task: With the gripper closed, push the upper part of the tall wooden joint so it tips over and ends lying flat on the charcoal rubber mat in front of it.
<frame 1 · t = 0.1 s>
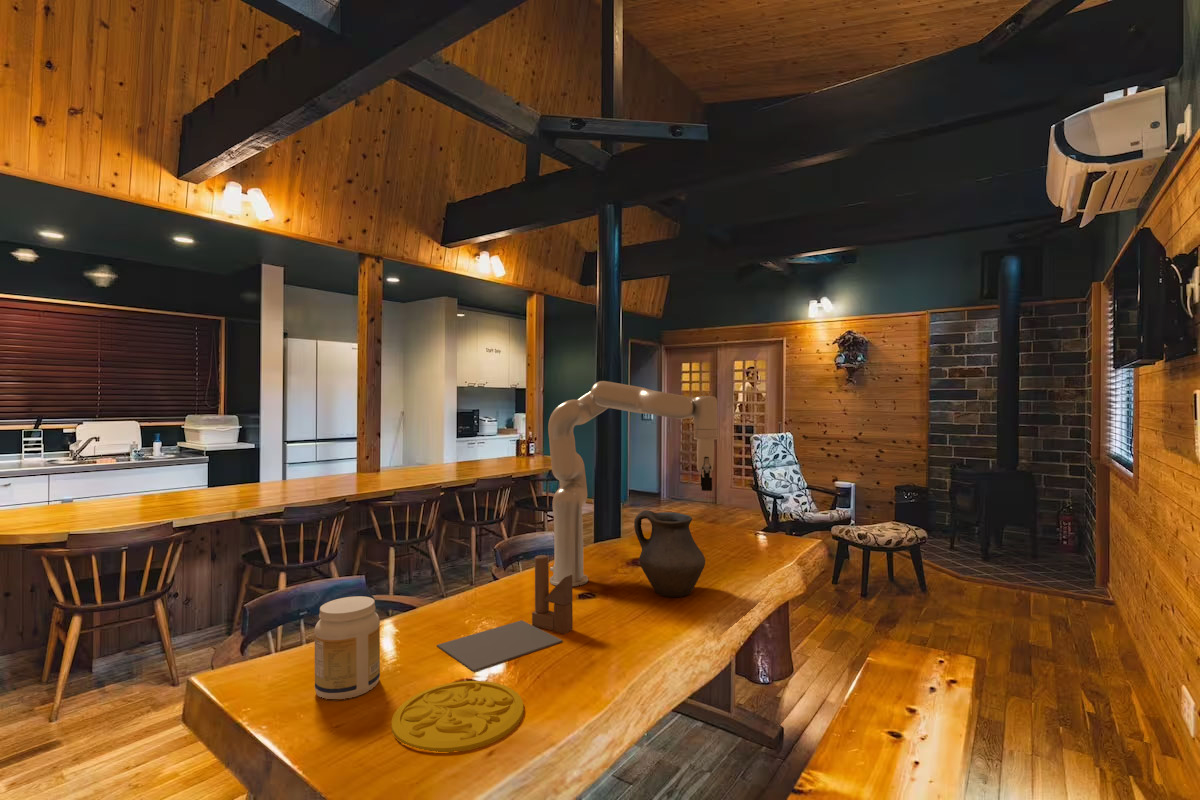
hand: (706, 488, 181), 31 cm above the table, tool pointing down, fingers open, 9 cm apart
pitcher: (669, 593, 175), on the table
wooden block: (552, 628, 147), on the table
supplement tub: (347, 688, 116), on the table
decorative medallion: (459, 718, 105), on the table
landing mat: (500, 644, 137), on the table
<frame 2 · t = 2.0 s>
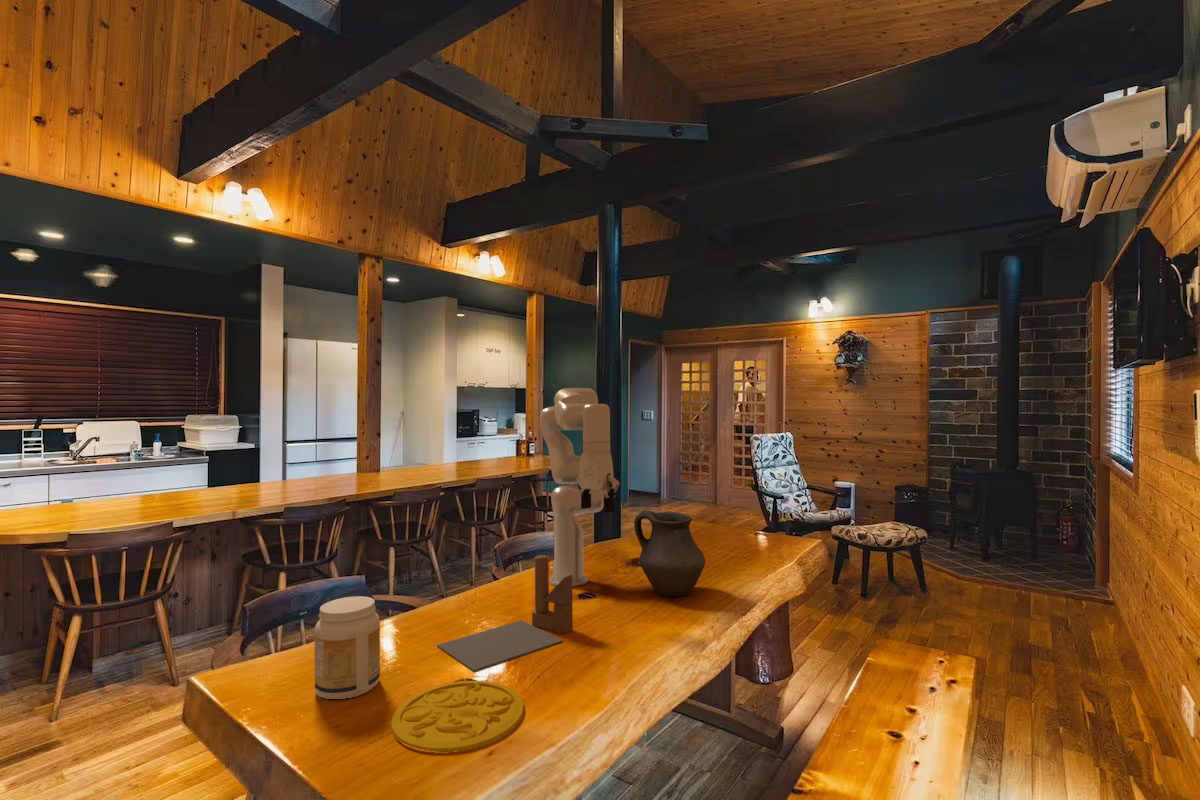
hand: (597, 510, 157), 29 cm above the table, tool pointing down, fingers open, 9 cm apart
nothing on the table moved.
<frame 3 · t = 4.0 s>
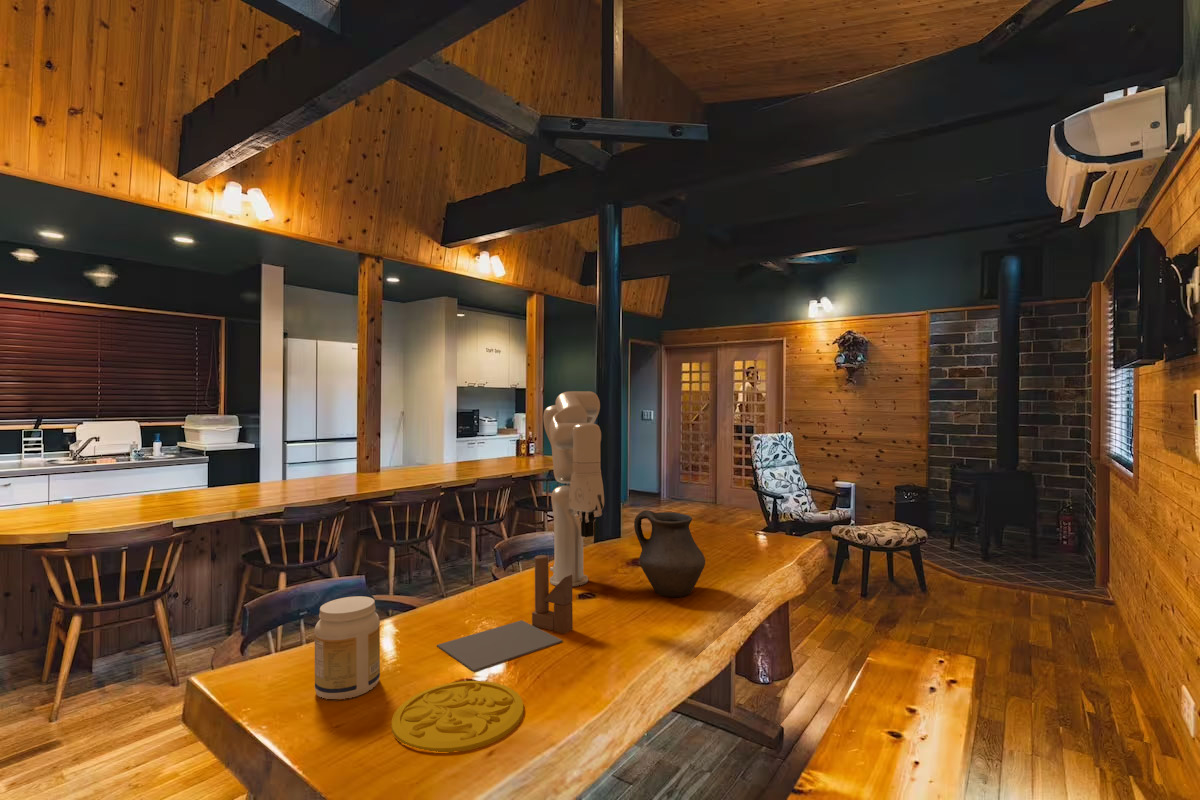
hand: (587, 536, 155), 22 cm above the table, tool pointing down, fingers closed
nothing on the table moved.
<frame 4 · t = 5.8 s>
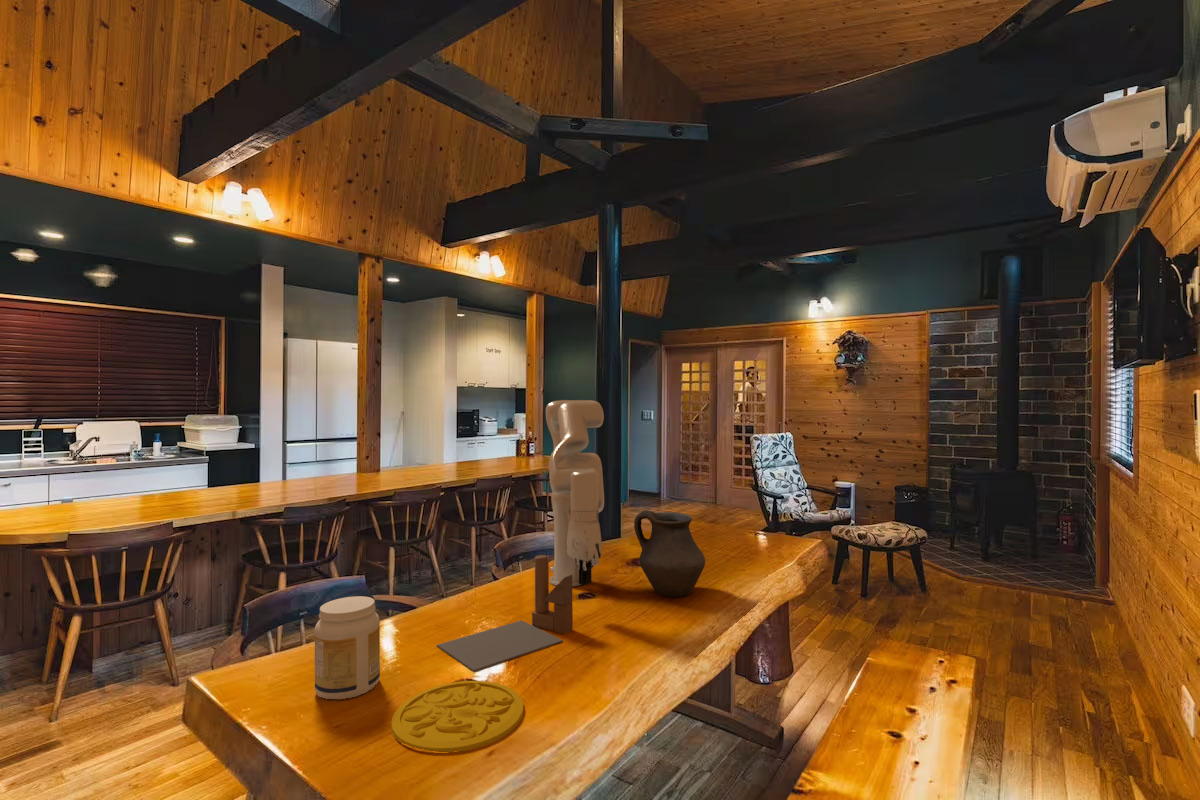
hand: (585, 583, 155), 9 cm above the table, tool pointing down, fingers closed
nothing on the table moved.
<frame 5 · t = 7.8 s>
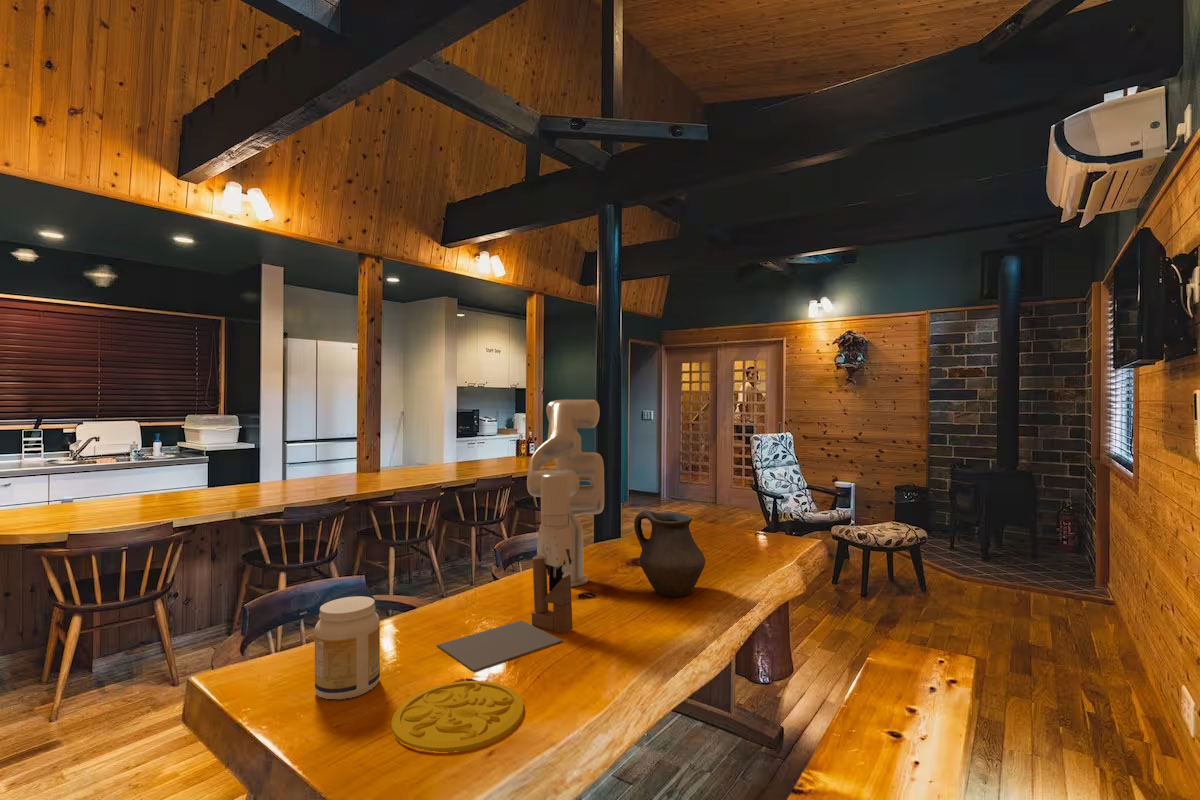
hand: (555, 591, 148), 9 cm above the table, tool pointing down, fingers closed
nothing on the table moved.
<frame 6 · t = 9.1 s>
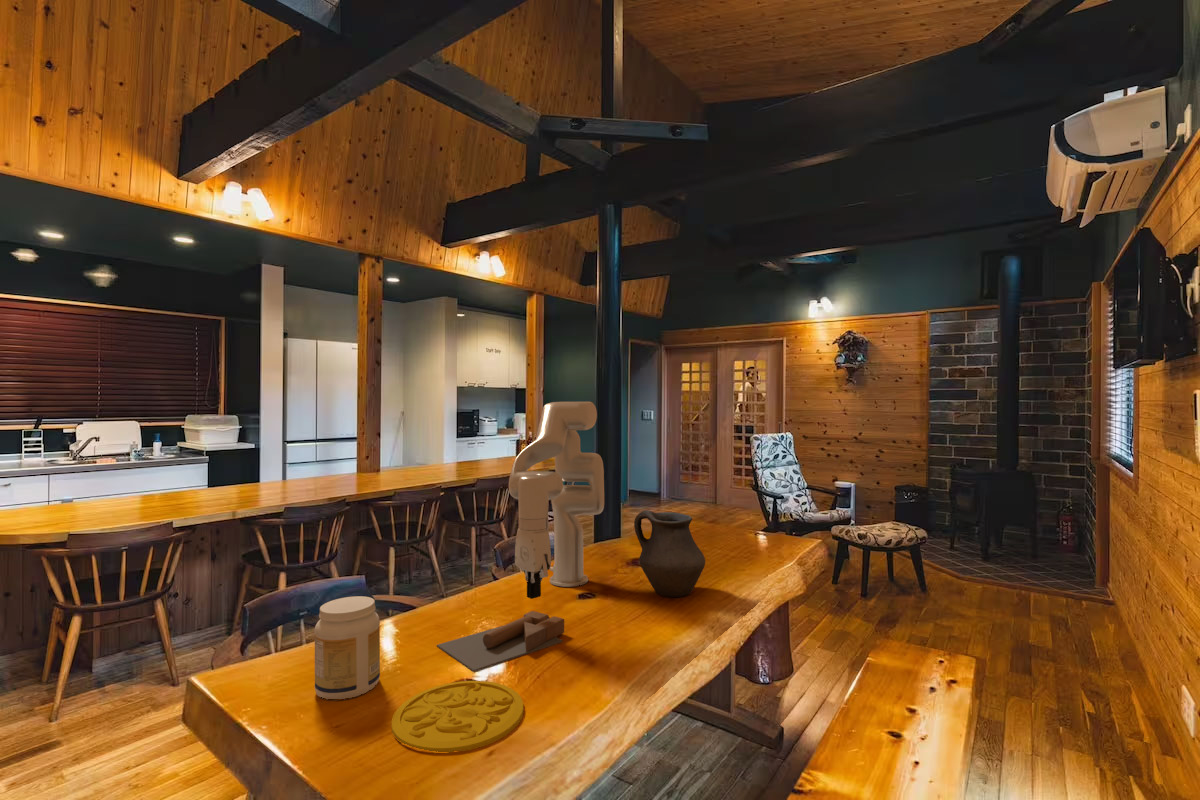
hand: (533, 596, 144), 9 cm above the table, tool pointing down, fingers closed
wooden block: (548, 621, 146), point 2 cm above the table, touching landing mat
everything else where it was.
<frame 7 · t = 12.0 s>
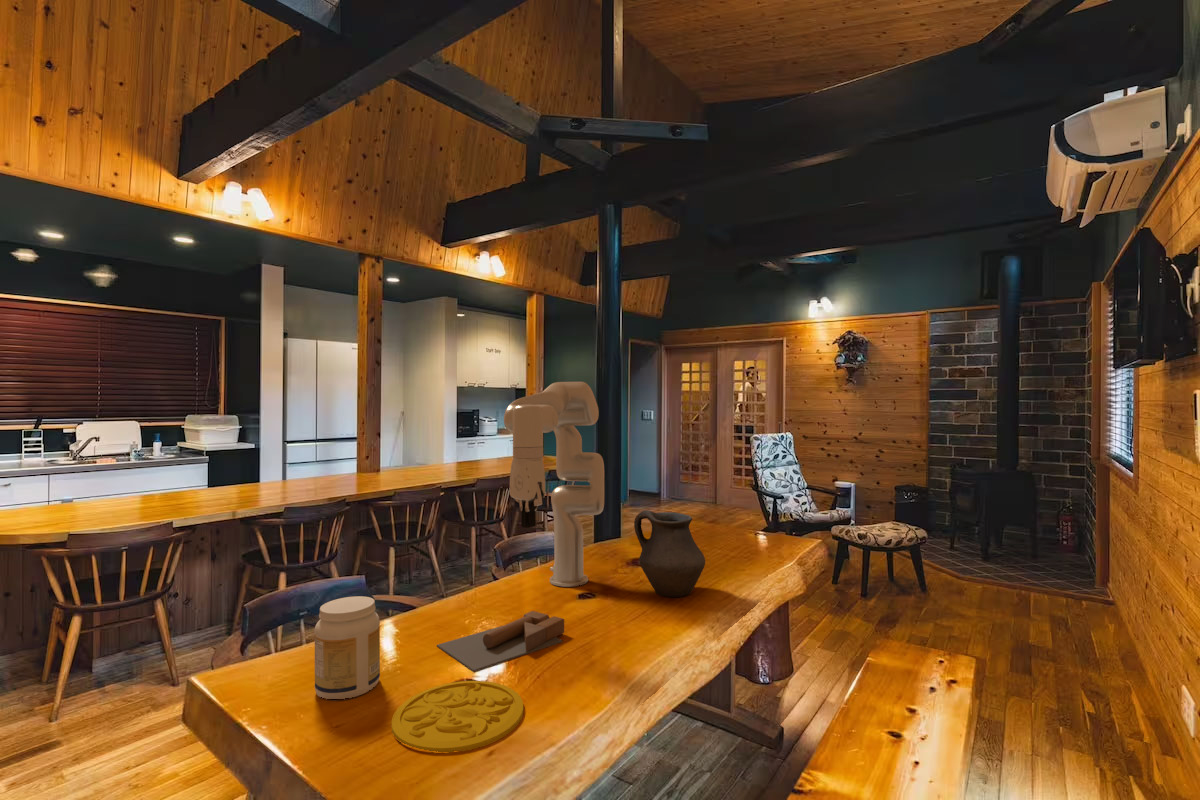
hand: (528, 526, 143), 27 cm above the table, tool pointing down, fingers closed
nothing on the table moved.
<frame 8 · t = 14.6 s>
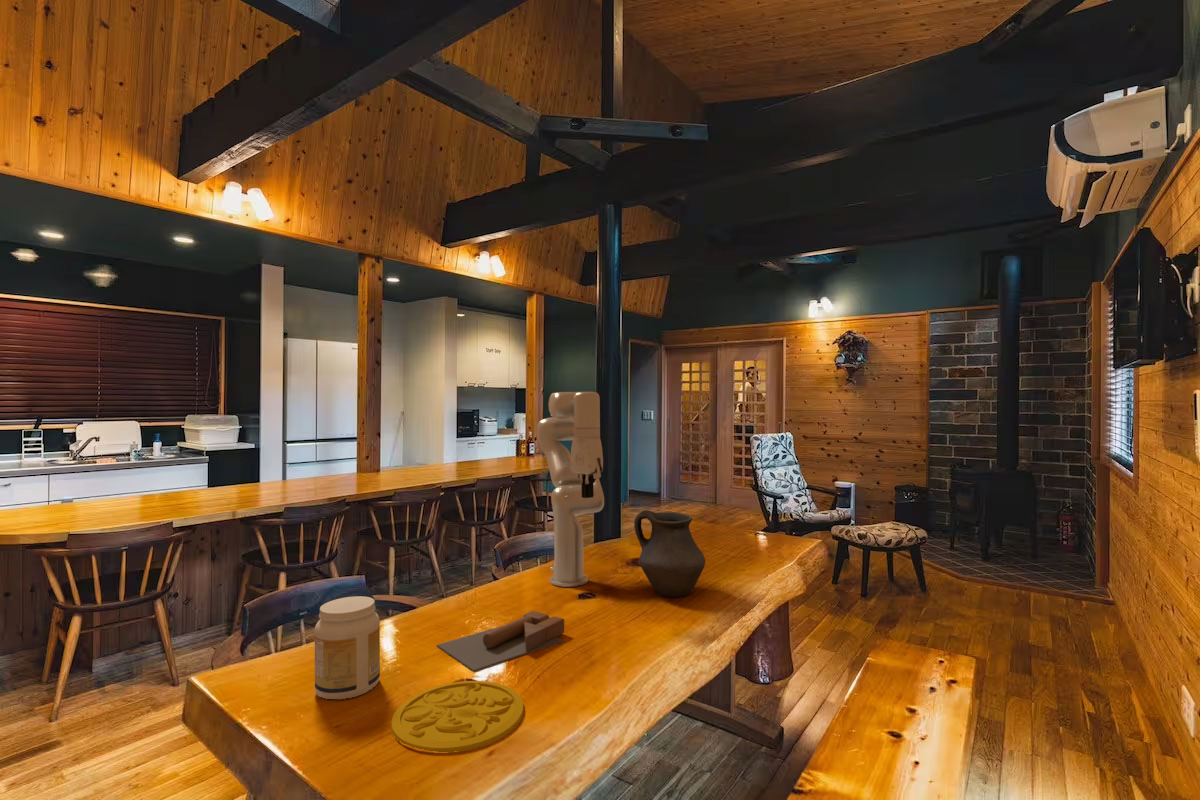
hand: (587, 497, 165), 31 cm above the table, tool pointing down, fingers closed
nothing on the table moved.
at the end: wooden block tilted 90°; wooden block touching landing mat; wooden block inside the target area (6.6 cm from its centre), point 2.2 cm above the table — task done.
